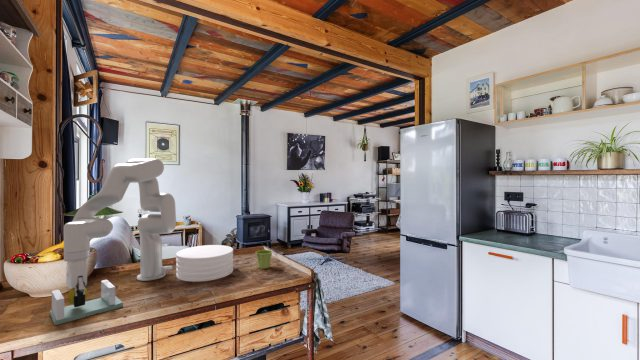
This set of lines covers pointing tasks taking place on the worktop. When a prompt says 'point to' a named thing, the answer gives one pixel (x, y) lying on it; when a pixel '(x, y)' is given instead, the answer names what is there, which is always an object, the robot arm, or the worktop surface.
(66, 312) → the vise base
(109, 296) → the vise jaw
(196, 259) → the plate stack
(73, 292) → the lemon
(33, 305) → the worktop surface
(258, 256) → the plant pot
